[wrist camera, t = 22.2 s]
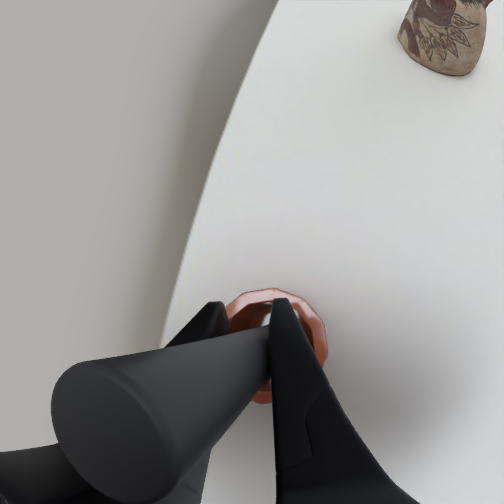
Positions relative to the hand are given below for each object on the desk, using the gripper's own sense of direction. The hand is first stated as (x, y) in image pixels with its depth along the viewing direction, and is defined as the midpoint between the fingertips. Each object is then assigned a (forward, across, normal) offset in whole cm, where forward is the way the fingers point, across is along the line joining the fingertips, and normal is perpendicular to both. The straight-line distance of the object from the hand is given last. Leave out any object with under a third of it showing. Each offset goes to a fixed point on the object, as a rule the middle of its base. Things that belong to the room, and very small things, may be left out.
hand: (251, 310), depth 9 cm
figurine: (+19, -15, -8) cm, 26 cm away
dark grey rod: (+4, 0, +6) cm, 7 cm away
